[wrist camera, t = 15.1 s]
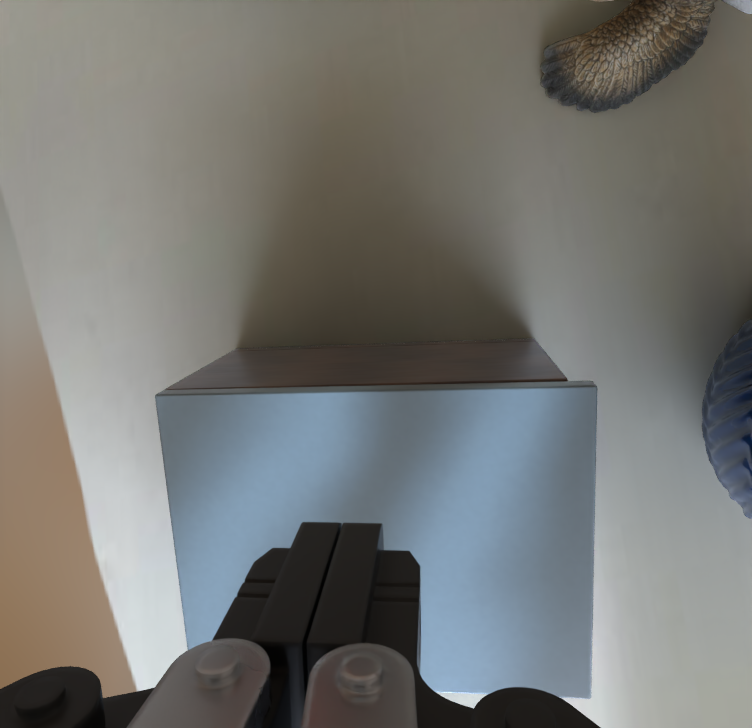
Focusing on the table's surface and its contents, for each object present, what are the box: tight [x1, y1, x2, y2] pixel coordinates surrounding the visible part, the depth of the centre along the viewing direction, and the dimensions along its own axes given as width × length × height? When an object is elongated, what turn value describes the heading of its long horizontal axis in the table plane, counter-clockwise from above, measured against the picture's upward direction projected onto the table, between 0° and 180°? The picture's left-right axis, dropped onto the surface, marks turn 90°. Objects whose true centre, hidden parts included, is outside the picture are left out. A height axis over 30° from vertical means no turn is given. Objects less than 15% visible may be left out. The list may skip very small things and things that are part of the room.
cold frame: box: [165, 338, 568, 390], centre depth 30 cm, size 16×13×9 cm
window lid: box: [155, 381, 597, 699], centre depth 25 cm, size 16×13×1 cm
